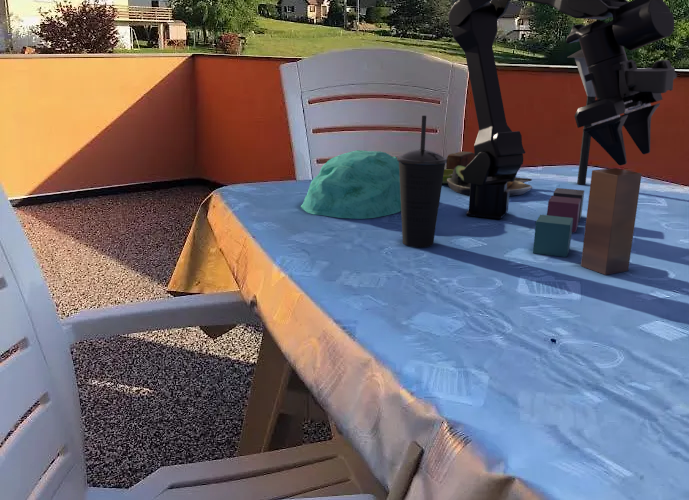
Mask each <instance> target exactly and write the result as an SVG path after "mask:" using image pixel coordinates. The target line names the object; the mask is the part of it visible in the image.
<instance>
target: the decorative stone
mask: <svg viewBox="0 0 689 500" xmlns="http://www.w3.org/2000/svg"><path fill="white" fill-rule="evenodd" d="M397 157H398V156H392V155H390V154H389V153H388V152H384V151H381V150H380V151H379V150H378V151H377V150H360V149H357V150H352V151H348V152H345V153H342V154H339V155H336V156H334V157H332V158H329V159H328V160H327V161H326V162H325V163H324V164H322V166H321V168H320V170H319V172H318V174H317V175H316V176H315V177H313V178H312V180H311V182H310V184H309V187H308V190H307V193H306V195H305V197H304V199H303V203H302V204H301V205H300V208H301V209H302V210H303V211H304V212H306V213H308V214H311V215H315V216H325V217H331V218H338V219H352V220H353V219H354V220H355V219H356V220H357V219H358V220H364V219H365V220H366V219H367V220H368V219H376V218H381V217H386V216H390V215H393V214H398V213H401V197H400V176H399V162H398V161H397Z"/></svg>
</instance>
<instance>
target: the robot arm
mask: <svg viewBox="0 0 689 500" xmlns="http://www.w3.org/2000/svg"><path fill="white" fill-rule="evenodd" d="M511 1H512V0H456V1H455V2H454V3H453V5H452V6H451V8H450V10H449V12H448V17H447V18H448V19H447V20H448V25H449V27H450V31H451V33H452V36H453V37H452V38H453V39H454V40H455V42H456V43H457V45H458V46H459V47H460V48H461V50H463V52H464V55H465V61H466V66H467V72H468V76H469V82H470V87H471V94H472V98H473V104H474V109H475V115H476V119H477V125H478V133H477V136H476V139H475V141H474V145H473V149H474V150H473V153H474V155H475V158H474V159H473V160H472V161H471V162H470V163H469V164H468V165H467V166H466V167H465V169H464V170H463V171H462V173H463V178H464V182H467V183H471V184H470V196H469V199H468V210H467V211H466V212H465V215H466V216H467V217H476V218H478V217H479V218H487V219H495V220H501V219H503V218H504V216H505V215H506V214H507V213H508V212H509V204H510V196H509V194H510V191H509V190H507V182H513V181H514V180H515V177H517V174H518V172H519V170H520V169H521V167H522V165H523V164H524V154H526V150H525V149H524V145H523V136H522V133H521V132H520V130H516V131H513V130H512V129H511V128H510V126H509V125H508V123H507V119H506V112H505V108H504V103H503V97H502V91H501V87H500V85H501V84H500V79H499V76H498V69H497V65H496V60H495V53H494V48H493V47H494V42H495V39H496V36H497V35H498V20H500V18H502V16H504V15H505V14H506V12H507V10H508V8H509V5H510V3H511ZM522 1H523V2H530V3H535V4H540V5H541V4H542V5H546V6H550V7H552V8H555V9H556V10H557V11H559V12H560V13H563V14H565V15H567V16H568V17H569V16H570V17H572V18H574V19H581V20H582V19H583V20H595V21H593V22H590V23H589V24H586V25H584V24H582V23H577V24H574V25H572V27H571V30H570V32H569V33H568V35H567V36H566V39H565V44H568V45H569V44H573V43H578V42H579V45H580V48H581V49H582V52H583V55H584V58H585V62H586V65H587V67H588V72H589V74H587V75H585V76H584V77H585V80H586V82H588V81H591V82H592V85H593V89H594V92H595V95H596V99H595V100H594V101H592V104H589V105H587V106H586V105H583V106H581V107H578V108H577V110H576V112H575V114H574V116H573V117H574V119H575V123H576V127H577V128H578V129H579V128H582V132H583V131H584V132H587V133H588V134H589V135H590V136H591V139H593V140H594V141H595V142H596V143H598V145H599V146H600V147H601V148H602V149H603V151H605V152H606V153H607V154H608V155H609V156H610V157H611V159H612V160H614V162H615V164H617V165H618V166H624V165H627V164H628V161H627V160H628V159H627V153H626V146H625V140H624V134H623V128H624V129H625V130H626V132H627V133H628V135H629V137H630V139H631V140H632V141H633V143H634V144H635V145H636V147H637V148H638V150H639V151H640V153H641V154H642V155H647V154H650V153H651V128H652V127H651V125H652V117H653V115H654V113H655V112H656V110H657V109H658V108H659V107H660V105H661V103H660V102H659V101H662V100H663V95H662V94H666V93H667V91H673V90H674V80H675V79H677V77H678V73H677V72H676V67H673V66H672V63H671V62H670V60H668V59H667V60H666V59H665V60H664V59H663V60H661V59H660V60H656V61H654V63H653V64H652V67H638V66H637V64H636V61H635V60H633V59H628V57H627V53H626V51H625V49H626V50H628V51H635V50H637V49H640V48H643V47H645V46H647V45H650V44H652V43H655V42H658V41H660V40H662V39H665V38H668V37H670V36H671V35H672V34H673V32H674V29H675V18H674V14H673V12H671V10H670V8H669V6H668V5H667V3H666V2H665V1H664V0H631V1H628V0H522ZM608 18H612V20H611V21H609V22H605V21H604V20H607V19H608ZM656 102H659V103H656ZM653 103H656V104H653ZM589 124H591V126H590V127H587V128H585V129H583V128H584V126H586V125H589Z"/></svg>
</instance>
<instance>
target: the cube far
mask: <svg viewBox="0 0 689 500" xmlns="http://www.w3.org/2000/svg"><path fill="white" fill-rule="evenodd" d="M552 196H558V197H569V198H580V199H581V203H580V212H579V221H578V223H580V222H581V219H582V214H583V205H584V198H585V190H583V189H573V188H561V187H556V188H555V189H554V191H553V195H552Z"/></svg>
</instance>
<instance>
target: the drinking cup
mask: <svg viewBox="0 0 689 500" xmlns="http://www.w3.org/2000/svg"><path fill="white" fill-rule="evenodd" d="M426 132H427V115H421V128H420V147H419V148H420V149H413V150H409V151H407V152H404V153H403V154H401V155H398V156H396V157H397V161H398V162H399V176H400V197H401V211H400V213H401V214H400V215H401V235H402V236H401V237H402V244H403V245H404V246H407V247H411V248H427V247H428V248H429V247H432V246H434V242H435V241H434V240H435V235H436V234H435V233H436V226H437V221H438V214H439V208H440V201H441V196H442V195H441V194H442V188H443V187H442V186H443V183H442V181H443V174H444V169H446V163H447V157H446V156H444V155H442V154H440V153H438V152H436V151H434V150H429V149H426Z"/></svg>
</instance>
